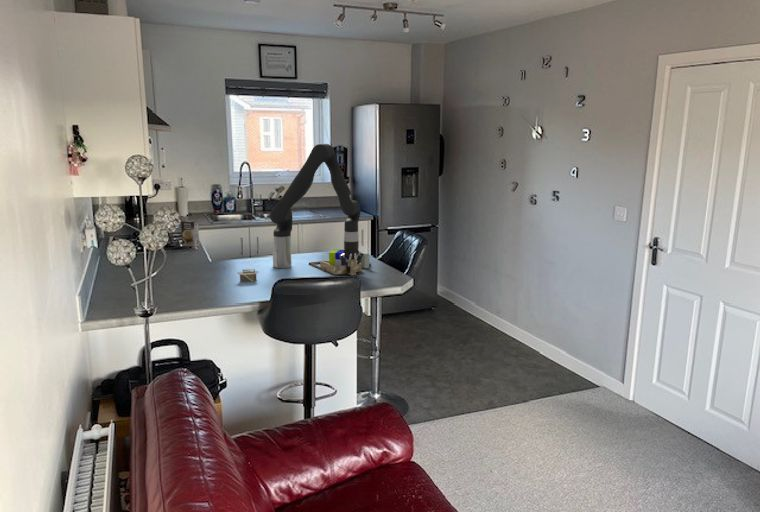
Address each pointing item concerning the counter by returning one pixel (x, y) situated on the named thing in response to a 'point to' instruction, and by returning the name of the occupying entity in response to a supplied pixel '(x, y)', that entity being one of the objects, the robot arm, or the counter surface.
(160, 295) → the counter surface
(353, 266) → the beige lumpy mound
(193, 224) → the coffee box
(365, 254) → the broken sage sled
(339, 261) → the puzzle toy
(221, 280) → the counter surface
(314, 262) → the lane rails
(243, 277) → the wooden crate
